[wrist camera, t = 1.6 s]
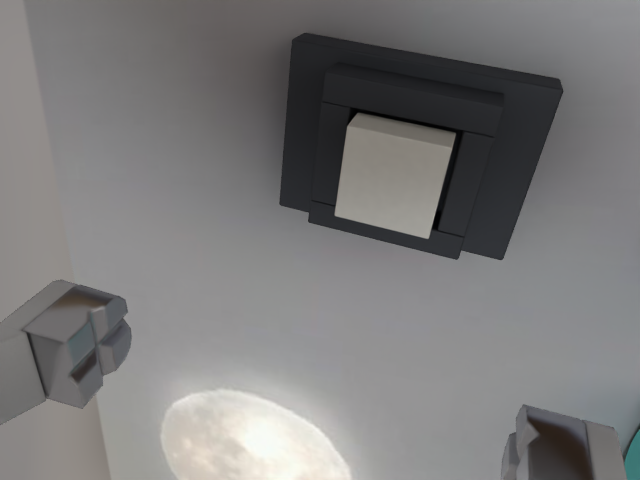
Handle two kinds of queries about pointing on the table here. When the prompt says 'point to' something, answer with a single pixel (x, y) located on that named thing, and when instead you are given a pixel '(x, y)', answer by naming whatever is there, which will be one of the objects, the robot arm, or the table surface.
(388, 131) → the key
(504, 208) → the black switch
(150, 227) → the table surface
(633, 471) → the decorative dice
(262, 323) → the table surface
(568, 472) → the robot arm
